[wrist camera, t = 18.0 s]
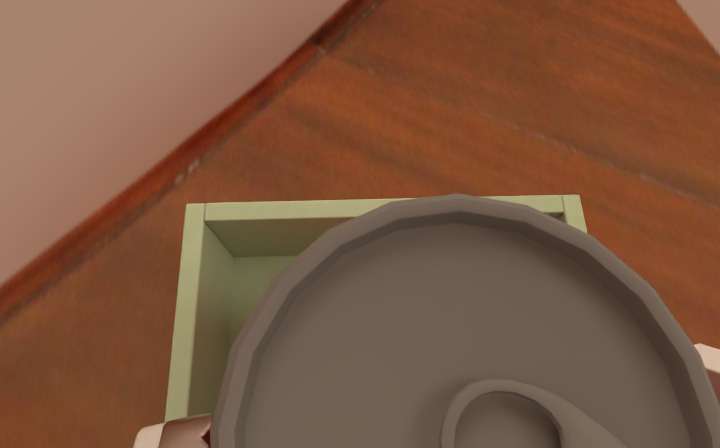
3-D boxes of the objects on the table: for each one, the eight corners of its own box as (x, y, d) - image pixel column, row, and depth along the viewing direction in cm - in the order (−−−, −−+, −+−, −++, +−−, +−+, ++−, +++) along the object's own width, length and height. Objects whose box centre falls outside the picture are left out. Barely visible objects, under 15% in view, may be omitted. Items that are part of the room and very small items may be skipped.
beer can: (455, 550, 15) (797, 1046, 4) (260, 474, 15) (18, 692, 4) (502, 346, 17) (805, 248, 6) (329, 287, 18) (297, 92, 6)
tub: (527, 239, 19) (580, 193, 15) (587, 606, 15) (685, 692, 11) (223, 247, 19) (185, 203, 14) (197, 627, 14) (133, 725, 10)
